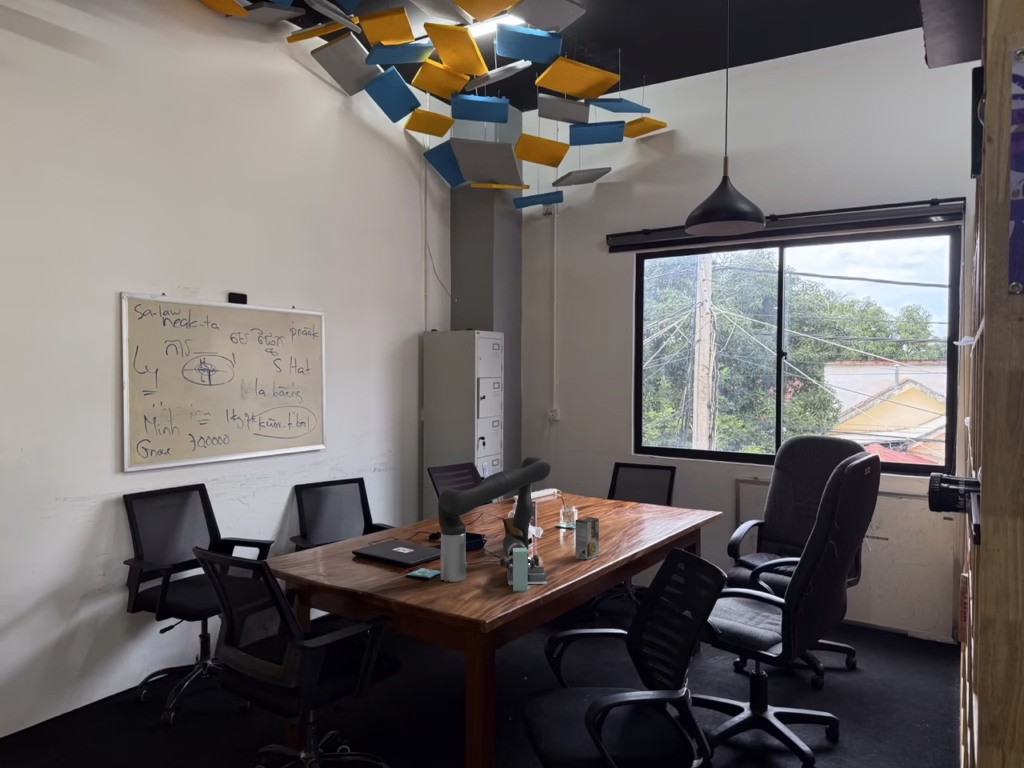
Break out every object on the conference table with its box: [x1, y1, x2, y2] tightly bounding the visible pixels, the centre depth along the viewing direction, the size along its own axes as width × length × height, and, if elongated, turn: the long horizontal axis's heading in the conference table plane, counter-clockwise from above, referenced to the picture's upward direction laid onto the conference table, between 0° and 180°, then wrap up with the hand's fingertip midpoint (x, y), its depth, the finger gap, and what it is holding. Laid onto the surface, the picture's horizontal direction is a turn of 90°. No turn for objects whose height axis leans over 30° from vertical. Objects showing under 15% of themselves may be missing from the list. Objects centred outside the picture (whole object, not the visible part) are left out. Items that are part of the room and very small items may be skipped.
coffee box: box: [574, 516, 600, 561], centre depth 279 cm, size 9×6×16 cm
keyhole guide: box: [506, 565, 548, 586], centre depth 249 cm, size 14×15×3 cm
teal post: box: [512, 548, 529, 592], centre depth 236 cm, size 5×5×14 cm
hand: (520, 566), depth 236 cm, fingers open, 8 cm apart
